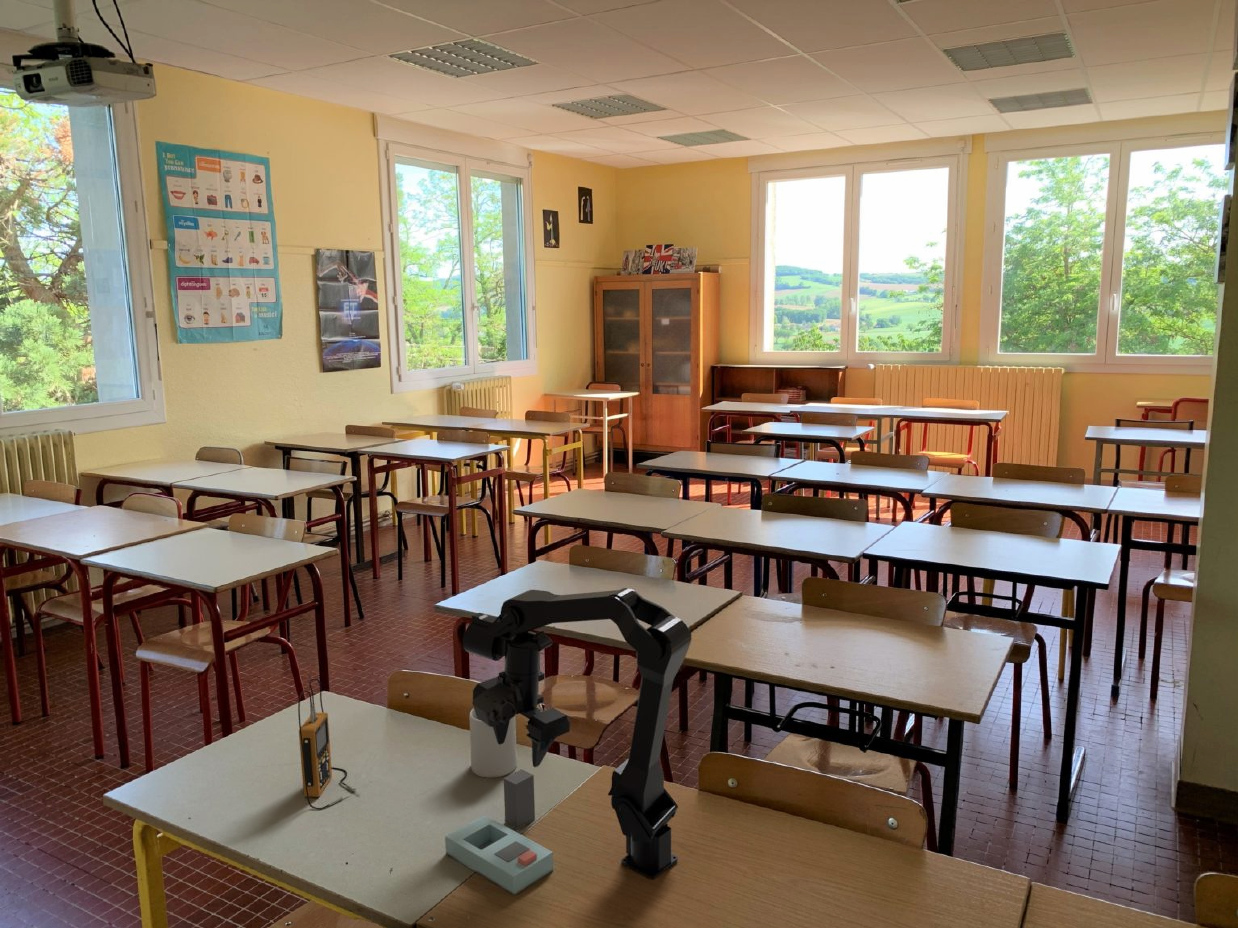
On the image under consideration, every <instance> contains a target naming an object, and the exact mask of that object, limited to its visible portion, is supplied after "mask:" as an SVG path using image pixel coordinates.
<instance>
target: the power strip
mask: <svg viewBox="0 0 1238 928" xmlns="http://www.w3.org/2000/svg"><path fill="white" fill-rule="evenodd" d="M444 838H445V840H444V841H445V854H446V855H448V856H449V857H450V858H452V859H454V860H456V861H457V862H460V863H461V864H462V865H463V866H466V867H467V868H469V869H470V870H472V871H474V872H475V873H477V874H479V875H480V876H482V877H484V878H485V879H486V880H489V881H491V882H492V883H493V884H495V885H497V886H498V887H500V888H502V889H503V890H505V891H506V892H508V893H510V894H511V895H513V896H515V895H517V894H519V893H521V892H522V891H523V890H525V889H526V888H528V887H529V886H531V885H532V884H534V883H536V882H537V881H539V880H541V879H542V878H543V877H545V876H546V875H548V874H549V873H551V872H552V871H554V851H552V850H549V849H548V848H546V847H544V846H542V845H540V844H539V843H537V842H535V841H533V840H531V839H529V838H528V837H527V836H524V835H522V834H520V833H519V832H517V831H515V830H513V829H512V828H509V827H507V826H506V825H504V824H501V823H500V822H499V821H496V820H494V819H492V818H490V817H489V816H487V815H485V814H483V815H482V816H480V817H478V818H476V819H474V820H473V821H471V822H469V823H467V824H465V825H463V826H461V827H459V828H458V829H456V830H454V831H452V832H450V833H448V834H447V835H445V836H444Z"/></svg>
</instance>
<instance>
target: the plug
mask: <svg viewBox="0 0 1238 928" xmlns="http://www.w3.org/2000/svg"><path fill="white" fill-rule="evenodd" d="M503 795H504V797H503V798H504V799H503V800H504V823H505V824H507V825H508V826H510V827H513V828H514V829H516V830H518V829H520V828H522V827H524V826H525V825H527V824H529V823H532V821H535V820H536V809H535V806H536V805H535V775H534V774H533V773H530V772H528V771H526V770H524V769H519V770H517V771H515V772H514V773H513V772H512V773H510V775H509V774H508V776H507V775H506V777H504V778H503Z"/></svg>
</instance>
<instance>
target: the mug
mask: <svg viewBox="0 0 1238 928" xmlns="http://www.w3.org/2000/svg"><path fill="white" fill-rule="evenodd" d="M516 732H517V730H516V715H515V716H514V717H513V718H511V719H510V722H509V726H508V731H507V735H506V738H505V742H504V743H503V744H501V745H499V744H498V743H497V739H496V736H495V733H494V729H493V727H490V726H488V725H487V724H486V723H484V722H483V721H481V720H478V719H477V716H476V713H475V710H474V707H473V708H472V709H471V710H470V712H469V734H470V735H469V736H470V738H469V739H470V765H471V766H470V767H471V771H472V772H473V774H475V775H476V776H479V777H482V778H487V779H488V778H490V779H491V778H493V779H494V778H499V777H500V778H501V777H504V776H507V775H509V774H512V773H513V772H514V771H515V769H516V768H517V765H518V757H517V733H516Z"/></svg>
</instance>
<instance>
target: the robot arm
mask: <svg viewBox="0 0 1238 928" xmlns="http://www.w3.org/2000/svg"><path fill="white" fill-rule="evenodd" d="M604 620H605V621H606V620H611V621H612V622H613V623H614V624H615V625H616V627H618V630H619V631H620V634H621V636H622V637H623V639H624V641H625V642H626V643H627V644H628V646H631V647H632V649H634V650H635V651H636V665H637V667H638V670H639V673H640V676H641V683H640V689H639V695H638V699H637V700H638V701H637V707H636V714H635V718H634V723H633V724H634V726H633V731H632V737H631V743H630V747H629V753H628V754H629V755H628V758H627V759H625V760H624V761H623V762H622V763H621V764H620V765H619V766H618V767H616V768H615V769H614V770H613V771H612V774H611V785H610V786H611V787H610V790H609V791H608V793H607V795H608V796H609V797H610V796H611V798H610V801H611V802H610V804H611V808H612V809H613V810H614V812H615V814H616V818H617V821H618V824H619V826H620V829H621V833H622V835H623V836H625V853H626V854H627V855H626V856H624V857H622V858H621V859H620V863H621V864H622V865H623V866H626V867H627V868H629V869H631V870H633V871H635V872H636V873H639V874H641V875H643V876H645V877H647V878H648V879H651V880H653V879H656V878H657V877H658V876H659V875H661V874H662V873H663V872H664V871H666V870H667V869H668V868H670V867H671V866H673V865H674V864H675V863H677V862H678V859H679V857H678V856H677V855H675V854H673V853H672V828H671V827H670V826H669V824H668V823H669V822H670V821H671V820H672V819H673V818H674V817H676V814H677V811H678V809H679V805H678V804H677V803H676V801H675V800H674V799H673V797H672V795H671V794H670V793H669V792H668V791H667V790H666V789H665V783H664V782H665V777H664V772H663V770H662V766H661V764H660V759H661V758H660V756H661V752H662V751H661V750H662V746H663V739H664V736H665V735H664V734H665V728H666V724H667V723H666V722H667V717H668V714H669V713H668V712H669V708H670V707H669V706H670V701H671V695H672V689H673V683H674V680H675V677H676V675H677V673H678V671H679V670H680V668H681V666H682V664H683V662H684V661H685V659H686V656H687V653H688V652H689V651H688V650H689V649H690V646H691V643H692V632H691V630H690V628H689V627H688V625H687V623H685V622H684V620H682V618H679V617H677V616H675V615H673V614H672V613H671V612H670V611H668V610H667V609H666V608H665V607H664V606H661V605H659V604H656V603H655V602H653V601H650V600H649V599H646V598H644V597H643V596H641V595H640V594H639V593H638V592H637V591H636V590H635V589H632V588H629V587H623V588H621V589H616V590H605V591H603V590H602V591H593V592H582V593H571V594H554V593H553V592H550V591H548V590H539V589H529V590H526V591H524V592H522V593H520V594H518V595H514V596H513V597H511V598H509V599H507V600H505V601H503V603H502V605H501V608H500V614H499V615H498V616H497V617H496V618H495V617H492V616H488V615H487V614H485V613H482V612H478V613H475V614H474V615H471V622H470V623H469V625H468V626H467V628H466V629H465V631H464V636H462V646H463V647H462V648H463V650H465V652H467V653H471V654H473V655H475V656H479V657H482V658H485V659H488V660H491V661H494V662H497V661H500V660H501V659H503V657H504V667H503V668H504V670H503V671H500V672H498V675H497V676H495V677H492V678H490V679H487V680H483V681H481V682H478V683H477V684H476V685H475V687H473V689H472V701H471V704H472V707H473V708H474V710H475V713H476V716H477V719H478V720H481V721H483V722H484V723H486V724H487V725H488V726H490V727H493V729H494V733H495V736H496V739H497V743H498V744H499V745H501V744H503V743H504V742H505V738H506V735H507V731H508V726H509V722H510V719H511V718H513V717H514V716H515V717H516V715H521V716H523V717H525V718H526V719H528V721H527V723H526V729H527V732H528V733H526V734H525V736H526V737H528V739H530V741H531V754H532V755H531V760H532V767H533V768H537V767H539V766H540V765H541V763H542V762H543V759H544V758H545V756H546V754H547V752H548V751H549V749H550V747H551V746H552V744H553V743H554V741H555V740H556V738H558V737H560V736H562V735H564V734H567V733H569V732H570V731H571V717H569V716H568V715H567V714H565V713H563V712H562V711H560V710H558V709H556V708H554V707H550V708H547V709H545V710H542V709H540V708H539V707H538V705H541V704H543V703H544V696H543V695H541V694H539V689H540V687H539V686H540V682H541V681H544V680H545V679H546V678H545V677H546V675H545V673H544V672H542V671H541V670H540V668H541V666H540V665H541V651H543V650H545V649H547V648H549V647H550V646H552V645H553V644H554V642H553V640H552V639H551V637H550V636H548V635H547V634H546V633H545V631H544V630H540V631H538V632H537V633H536V632H533V631H534V630H537V629H541V628H543V627H545V626H548V625H552V624H559V623H560V624H561V623H562V624H563V623H575V622H588V621H589V622H590V621H604ZM639 621H640V622H642V623H645V624H647V625H649V626H648V627H647V628H645V627H644V626H643V625H642V624H640V622H639Z"/></svg>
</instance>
